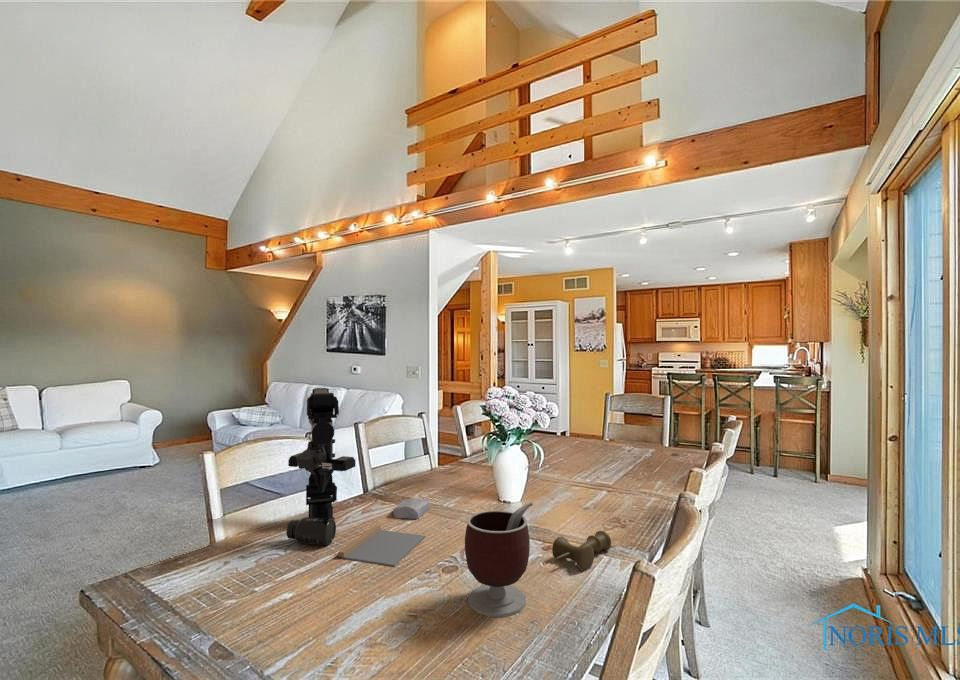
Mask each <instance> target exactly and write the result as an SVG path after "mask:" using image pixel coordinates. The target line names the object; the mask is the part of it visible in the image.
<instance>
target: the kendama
mask: <svg viewBox="0 0 960 680" xmlns="http://www.w3.org/2000/svg"><path fill="white" fill-rule="evenodd" d="M611 547H612V539H611V537H610V535H609V534H608V533H607V532H606V531H604V530H598V531H596V533H595V534H594V535H593V534H592V535H589V536H588V537H587V538H586V541H585V542H584V543H582V544H580V545H579V546H576V545H573V544H571V543H569V541H568V540H567V538H565V537H563V536H558V537H557V538H555V540H553V543H552V547H551V551H552V553H551V554H552V556H553V558H554V559H555V560H556V561H560V560H562V559H563V560H564V559H568V560H571V561H574V562H575V564H576V565H577V566H578V569H580V570H581V571H583V570H585V571H587V570H586V569H588V568H589V569H591V568H592V566H593V564H594V560H595V553H597V554H598V553H600V552H601V551H605V550H607V551H609V550H610V549H611ZM601 549H603V550H601ZM589 569H588V570H589Z"/></svg>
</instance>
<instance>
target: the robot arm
mask: <svg viewBox="0 0 960 680" xmlns="http://www.w3.org/2000/svg"><path fill="white" fill-rule="evenodd" d="M334 394H335V393H334V392H330V390H329V388H327V387H316V388H312V393H310V395H309V396H308V397H307V398H306V417H307V419H308V423H309V424H310V426H311V428H310V429H311V431H310V432H311V441H308V443H307V448H306V449H305V450H303V451H302V452H300V453H296V454H293V455H290V456H289V458H288V462H287V465H288V467H293V468H297V467H298V469H299V470H301V469H305V472H306V471H307V472H309V473H310V475H309V477H308V484H306V485H305V488H306V489H305V506H308V517H311V518H327V519H333V520H334V521H335V518H336V517H333V516H334V508H333V507H334V506H333V503H335V502H336V501H337V500H338V499H337V497H338V496H337V495H338V486H336V483H335V482H333V473H334V471H336V472H346V471H349V470H351V469H353V468H355V467H356V459H355V458H354V456H346V455H344V456H343V455H341V456H339V457H337V458H336V453H334V452H333V444H335V443H336V439H335V438H334V436H335V428H334V426H333V419H337V418H338V415H340V410H339V409H340V407H339V399H338V397H337V396H334Z"/></svg>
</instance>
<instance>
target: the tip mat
mask: <svg viewBox="0 0 960 680" xmlns="http://www.w3.org/2000/svg"><path fill="white" fill-rule="evenodd" d="M381 527H382V526H381V525H379V524H378V525H377V524H375V525H374V526H373V527H371V528H370V529H368V530H367V531H366V532H364V533H363V534H361V535H360V536H358V537H357V538H356V539H354V540H353V541H351V542H350V543H349V544H347V545H346V546H344V547H343V548H342V549H339V551H338V554H337V555H338V559H343V560H352V561H355V560H356V561H357V562H361V563H362V562H363V563H369V564H376V565H383V566H386V567H387V566H389V567H396V565H398V564H399V563H400V562H401V561H402V560H403V559H404V558H405V557H406V556H407V555H408V554H409V553H410V552H411V551H412V550H414V548H416V547H417V546H418V545H420V544H421V542H423V540H424V539H426V535H422V534H415V533H409V532H408V533H407V532H399V531H392V530H386V529H385V530H384V529H382V528H381Z"/></svg>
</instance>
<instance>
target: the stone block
mask: <svg viewBox="0 0 960 680" xmlns="http://www.w3.org/2000/svg"><path fill="white" fill-rule="evenodd" d="M430 505H431V503H430V499H425V498H420V497H412V498H408V499H407V498H406V499H404V500H402V501H401V502H400V503H398V504H397V506H396V507H394V508H393V510H392V513H393V517H394V518H395V517H397V518H396V519H399V518H409V519H408V520H417V519H418V520H420V519H421V518H422V517H423V516H424V515H425V514H426V513H427V512H428V511H429V509H430V507H431V506H430ZM424 513H425V514H424ZM423 514H424V515H423ZM422 515H423V516H422ZM421 516H422V517H421ZM420 517H421V518H420ZM419 518H420V519H419Z"/></svg>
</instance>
